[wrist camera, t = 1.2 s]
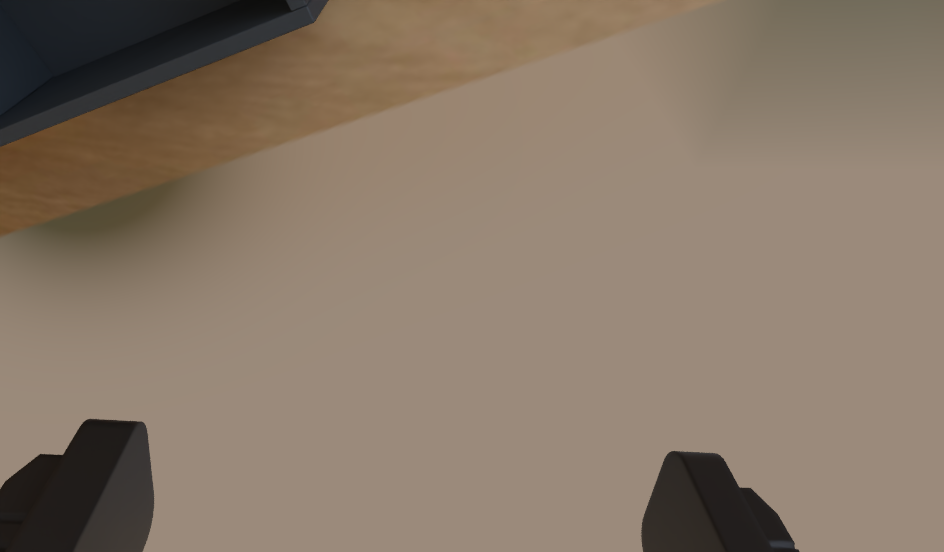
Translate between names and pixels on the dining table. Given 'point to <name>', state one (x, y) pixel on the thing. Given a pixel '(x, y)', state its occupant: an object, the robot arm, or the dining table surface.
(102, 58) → the bin
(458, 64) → the dining table surface
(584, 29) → the dining table surface
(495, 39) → the dining table surface
